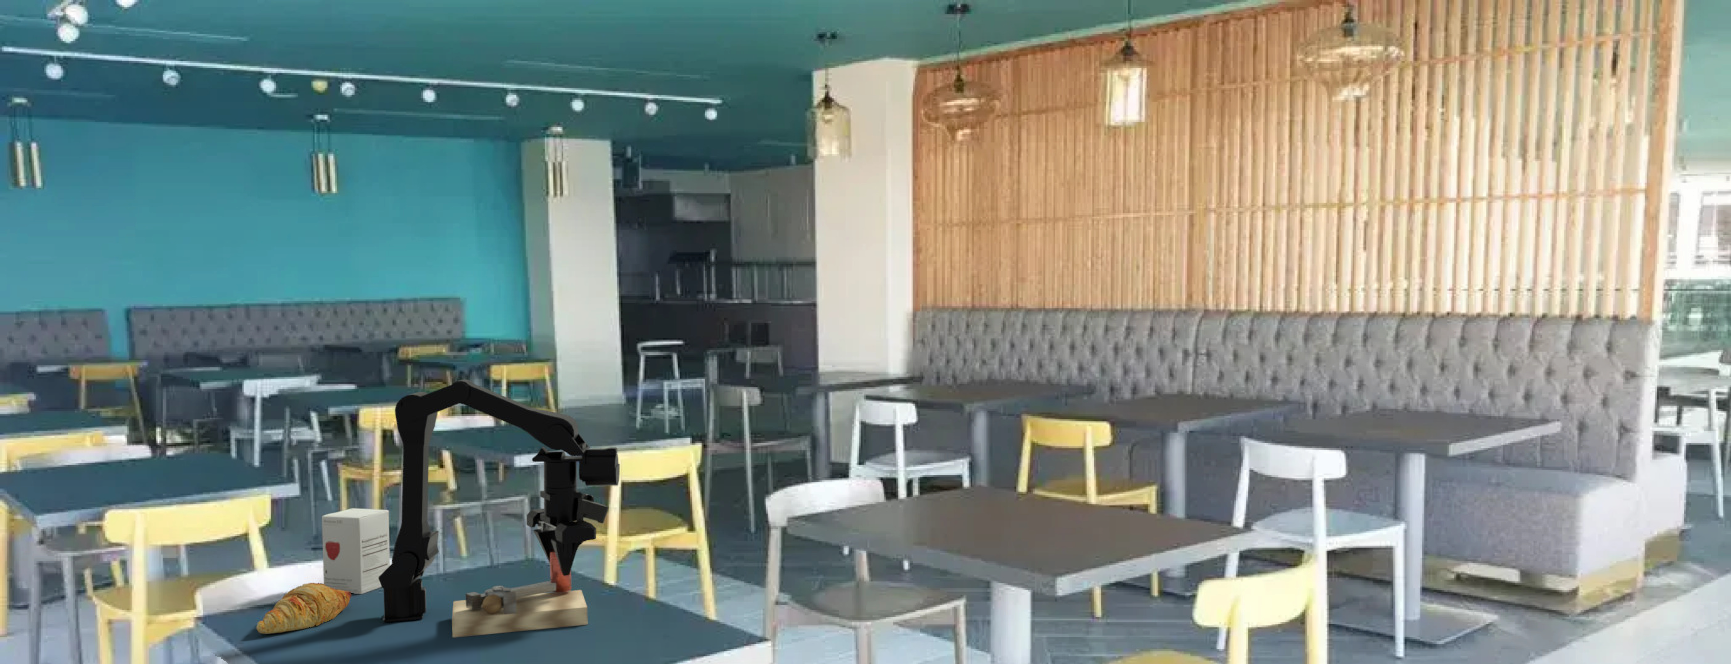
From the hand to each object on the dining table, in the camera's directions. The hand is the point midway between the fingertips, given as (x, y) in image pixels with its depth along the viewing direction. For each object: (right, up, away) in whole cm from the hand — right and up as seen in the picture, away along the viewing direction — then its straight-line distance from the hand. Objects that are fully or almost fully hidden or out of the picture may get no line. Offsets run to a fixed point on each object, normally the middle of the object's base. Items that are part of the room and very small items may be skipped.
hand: (560, 572), depth 220 cm
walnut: (-8, -5, -12) cm, 16 cm away
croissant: (-44, -8, -4) cm, 45 cm away
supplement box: (-45, -7, +20) cm, 50 cm away
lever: (-6, -4, -4) cm, 8 cm away
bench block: (-5, -7, -7) cm, 11 cm away
